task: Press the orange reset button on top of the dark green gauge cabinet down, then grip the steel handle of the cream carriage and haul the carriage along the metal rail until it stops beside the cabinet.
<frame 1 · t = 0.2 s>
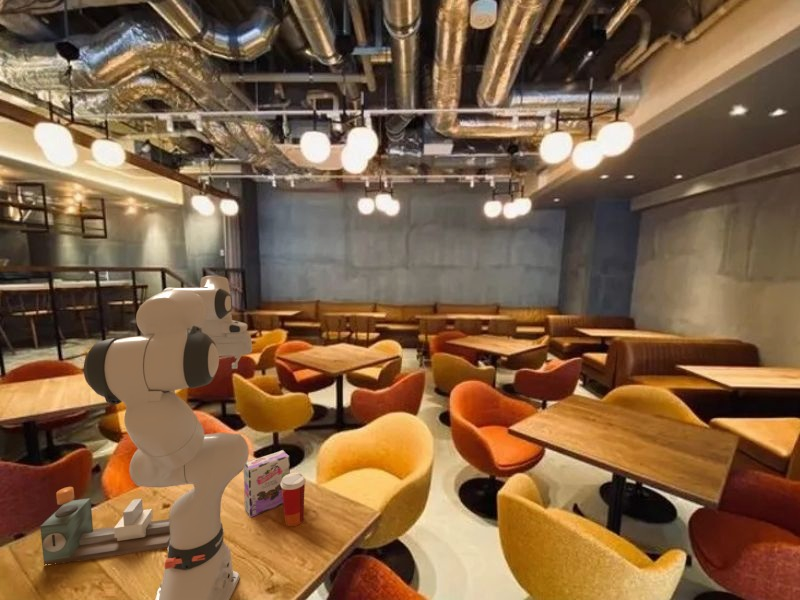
hand: (219, 369, 119), 48 cm above the table, tool pointing down, fingers open, 8 cm apart
candy box: (268, 505, 126), on the table
paper cup: (294, 521, 118), on the table
rail base: (117, 542, 109), on the table
carriage: (133, 519, 109), point 6 cm above the table, slide at 0.0 cm
reset button: (65, 495, 105), point 16 cm above the table, slide at 0.0 cm
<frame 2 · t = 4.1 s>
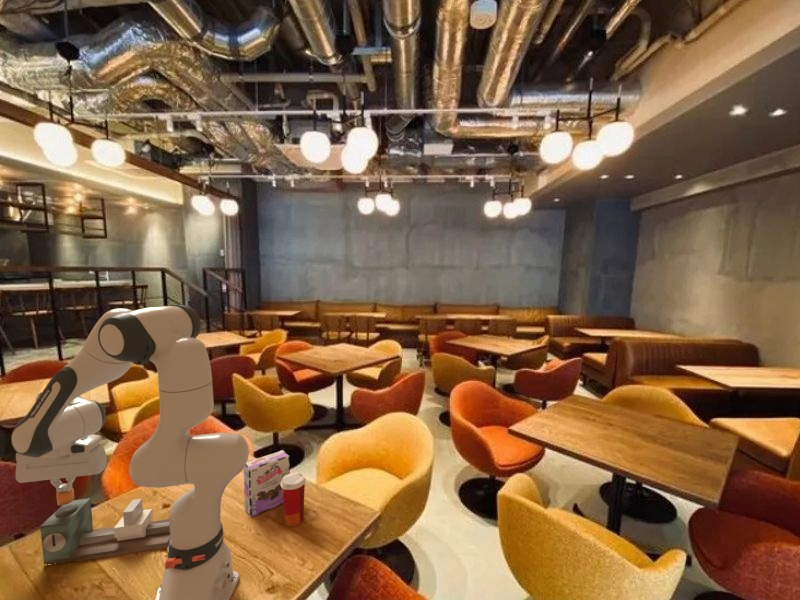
hand: (64, 491, 105), 18 cm above the table, tool pointing down, fingers closed, pressing on reset button
reset button: (65, 496, 105), point 16 cm above the table, slide at 0.2 cm, touching gripper
everything else where it was.
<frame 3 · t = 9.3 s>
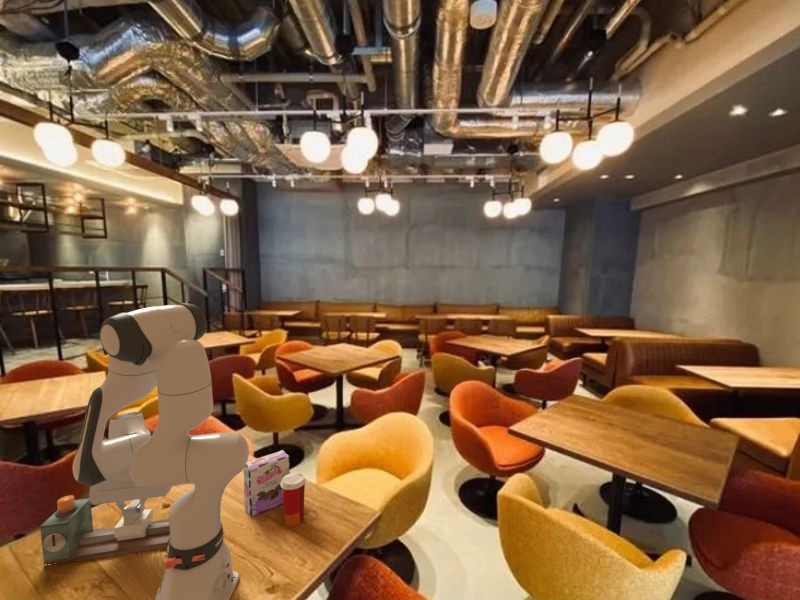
hand: (133, 512, 109), 9 cm above the table, tool pointing down, fingers closed on carriage, 2 cm apart
carriage: (133, 519, 109), point 6 cm above the table, slide at 0.0 cm, touching gripper
reset button: (66, 504, 105), point 14 cm above the table, slide at 2.5 cm
everything else where it was.
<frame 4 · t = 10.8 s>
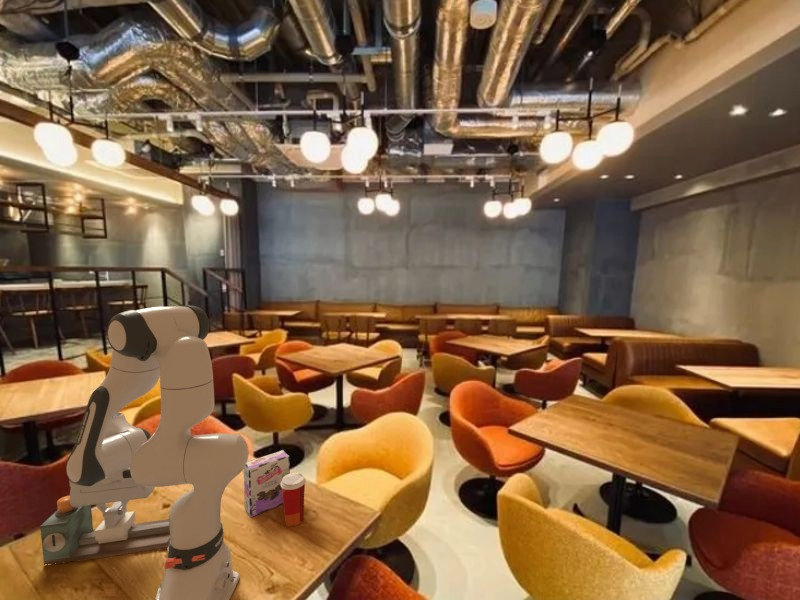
hand: (115, 514, 108), 9 cm above the table, tool pointing down, fingers closed on carriage, 2 cm apart
carriage: (115, 521, 108), point 6 cm above the table, slide at 4.7 cm, touching gripper
everything else where it was.
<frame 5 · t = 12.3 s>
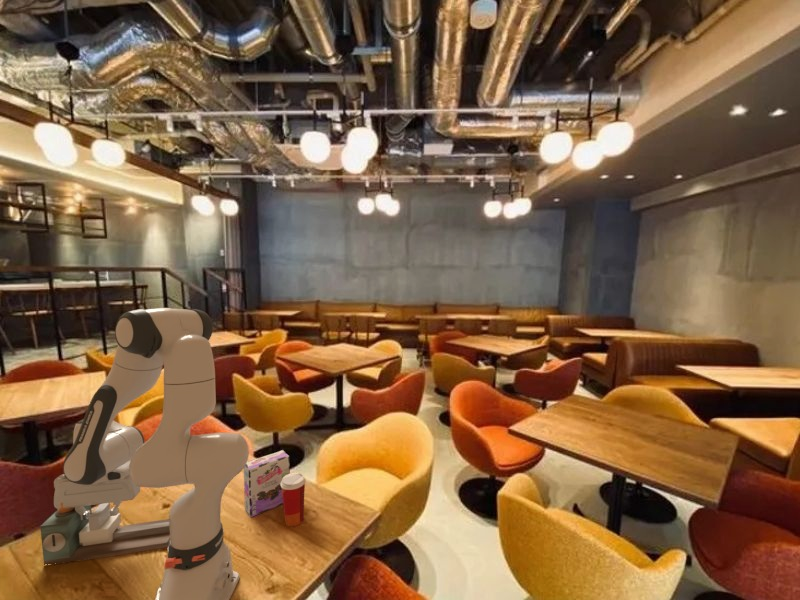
hand: (100, 516, 107), 9 cm above the table, tool pointing down, fingers open, 6 cm apart
carriage: (100, 523, 108), point 6 cm above the table, slide at 8.5 cm
everything else where it was.
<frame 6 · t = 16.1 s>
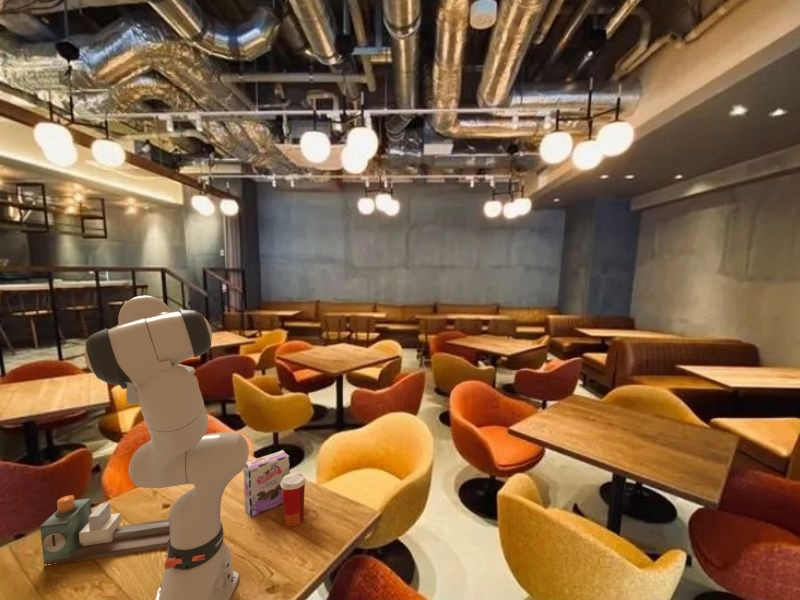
hand: (165, 414, 120), 33 cm above the table, tool pointing down, fingers open, 8 cm apart
nothing on the table moved.
at the end: reset button slide at 2.5 cm; carriage slide at 8.5 cm; the gripper is holding nothing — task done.
